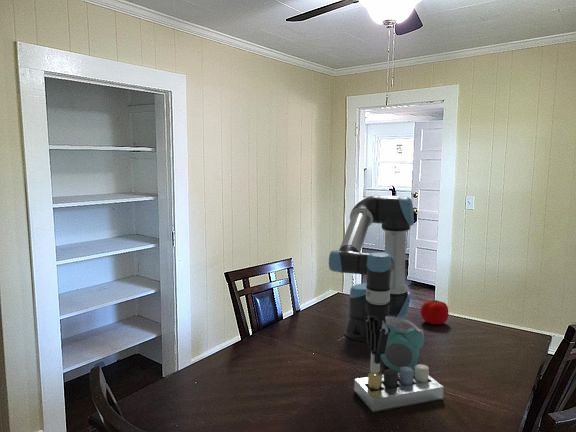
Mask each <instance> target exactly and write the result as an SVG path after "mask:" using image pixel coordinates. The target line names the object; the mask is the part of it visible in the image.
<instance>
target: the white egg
mask: <svg viewBox="0 0 576 432" xmlns="http://www.w3.org/2000/svg"><path fill="white" fill-rule="evenodd" d="M414 370H415V380H416V381H417V382H418V383H419V384H421V383H427V382H428V376H430V375H429V374H430V371H429V370H430V368H429V366H428V365H426V364H421V363H419V364H418V363H417V364H416V365H415V368H414Z"/></svg>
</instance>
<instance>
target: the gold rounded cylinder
mask: <svg viewBox="0 0 576 432" xmlns="http://www.w3.org/2000/svg"><path fill="white" fill-rule="evenodd" d="M382 375H383V374H382V373H381V372H374V373H372V372H371V371H369V372H368V374H367V377H368V389H369V390H370V391H371V392H373V391H379V390H381V384H382Z"/></svg>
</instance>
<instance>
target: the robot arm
mask: <svg viewBox="0 0 576 432" xmlns="http://www.w3.org/2000/svg"><path fill="white" fill-rule="evenodd" d="M414 213H415V212H414V205H413V200H412V199H411V198H410V197H408V196H401V195H370V196H367V197H366V198H362V200H360V201H359V202H357V203H356V204H355V205H354V207H353V208H352V209H351V211H350V214H349V220H350V221H349V223H348V226H347V229H346V231H345V234H344V237H343V238H342V242H341V245H340V246H339V249H337V250H331V251H330V253H329V256H328V268H329V270H330V271H332V272H337V273H341V274H343V273H344V274H355V275H364V276H366V283H363V282H362V283H358V284H354V285H352V286H351V287H350V290H349V309H348V319H347V322H346V325H345V327H344V335H345V336H346V337H347V338H348V339H351V340H354V341H359V342H366V346H367V347H368V348H369V351H370V369H369V370H370V371H369V372H372V373H374V372H379V373H381V354H385V350H386V345H387V340H388V335H389V333H390V328H387V327H386V322H387V319H386V317H392V318H395V319H404V318H407V317H408V313H409V307H410V302H411V298H412V297H411V296H412V292H411V291H409V288H408V286H407V284H406V283H405V278H406V277H405V275H406V246H407V233H408V232H409V231H410V229H411V227H412V226H414V224H415V218H414V217H415V214H414ZM372 224H381V230H383V231H384V232H385V233H384V251H382V252H372V253H370V252H362V248H363V246H364V245H363V244H364V242H365V239H366V235H367V233H368V231H369V230H368V229H369V227H371V225H372Z"/></svg>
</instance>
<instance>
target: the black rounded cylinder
mask: <svg viewBox="0 0 576 432" xmlns="http://www.w3.org/2000/svg"><path fill="white" fill-rule="evenodd" d="M383 375H384V386H385V387H386V388H387V389H391V388H397V382H398V371H396V370H393V369H390V368H387V369H385V370H384V372H383Z"/></svg>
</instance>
